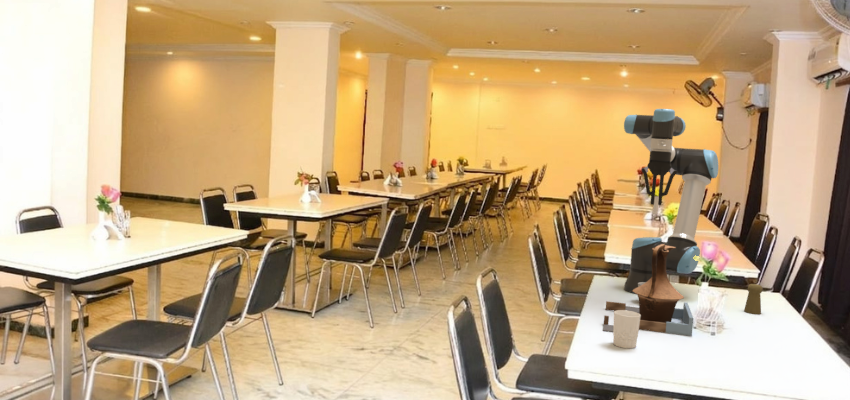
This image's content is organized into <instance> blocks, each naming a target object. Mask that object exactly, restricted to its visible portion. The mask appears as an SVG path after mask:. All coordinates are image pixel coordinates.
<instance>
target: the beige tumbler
mask: <svg viewBox="0 0 850 400" xmlns="http://www.w3.org/2000/svg"><path fill="white" fill-rule="evenodd" d="M640 317H641V315H640V314H639V313H636V312H633V311H627V310H617V311H613V324H612V325H613V332H612V333H613V335H612V336H613V339H612V340H613V341H612V343H613V345H614V346H616V347H618V348H623V349H635V348H636V347H637V341H638V340H637V339H638V337H639V330H640V329H639V325H640Z"/></svg>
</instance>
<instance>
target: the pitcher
mask: <svg viewBox="0 0 850 400" xmlns="http://www.w3.org/2000/svg"><path fill="white" fill-rule="evenodd" d="M674 248H676V247H672V246H667V245H665V244H661V245H658V246H656V247H655V248H653V249H652V250H653V255H652V277H651V279H649V280H648V281H647V282H646V283H644V284H643V285H641V286H639V287H637V288H635V289H633V292H634V293H633V294H636V295H637V299H638V308H639V314H640V315H641V317H640V320H646V321H654V322H662V323H666V322H673V321H672V320H673V318H672V317H673V313H674V309H675V308H676V306H677V303H678V302H679V301H680V300H682V299H684V298H685V297H684V295H682V294H681V293H680V292H679V291H677V289H676V288H675V287H674V286H673V284H672V283H671V282H670V280H669V277H668V273H667V272H668V271H666V260H667V256H668V253H669V251H671V250H672V249H674ZM657 258H658V259H657Z"/></svg>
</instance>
